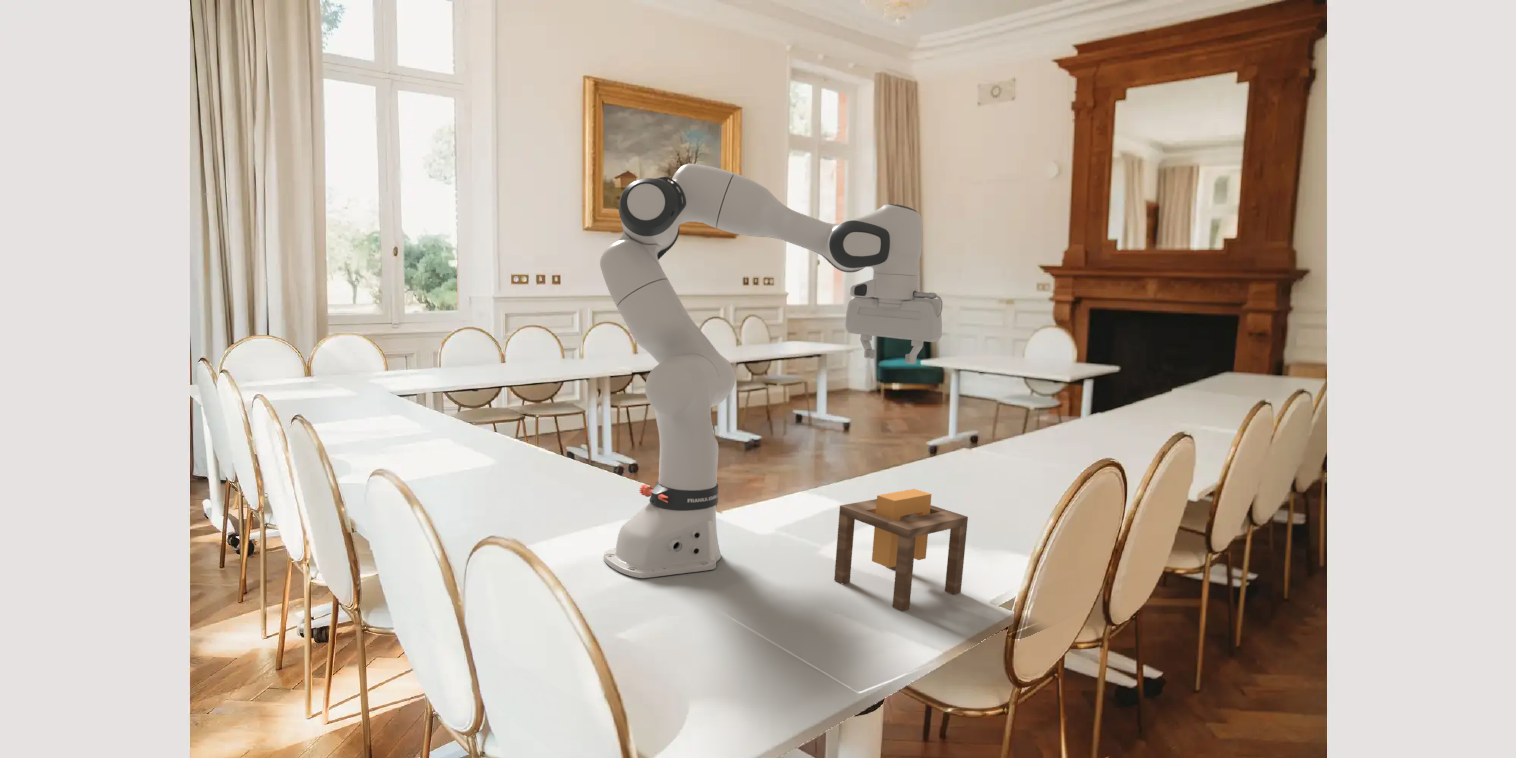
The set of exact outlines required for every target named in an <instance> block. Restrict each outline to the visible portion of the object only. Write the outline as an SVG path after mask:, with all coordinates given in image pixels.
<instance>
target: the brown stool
mask: <svg viewBox="0 0 1516 758" xmlns="http://www.w3.org/2000/svg"><path fill="white" fill-rule="evenodd" d="M876 504H877V498H875V499H869V500H864V501H858V502H853V503H847V504H842V505H839V511H838V512H839V515H838V527H837V537H836V538H837V541H836V553H835V564H834V565H835V566H834V577H833V578H834V580H836V581H837V582H836V581H835V582H836V583H839V584H841V583H844V584H847V583H848V584H849V583H850V582H851V571H852V558H853V546H854V531H855V521H858V522H861V523H864V524H866V525H869V526H872V527H874V528H875V527H877V528H880V529H883V530H885V531H888V532H891V533H893V534H896V535H899V537H898V548H897V560H896V566H895V567H891V568H888V567H886V568H888V569H889V570H893V571H895V573H894V575H895V576H894V585H893V597H892V598H893V599H892V608H893V609H895V610H898V611H900V612H903V611H907V610H909V609H910V606H911V594H912V584H913V573H914V560H915V559H914V551H915V540H916V537H918V536H922V535H926V534H928V535H930V534H935V533H938V532H943V531H947V530H950V533H949V542H948V551H947V564H946V573H945V585H944V586H945V587H944V592H946V593H949V594H950V595H953V596H954V595H957V594H961V593H962V583H963V575H964V574H963V573H964V561H965V551H966V543H967V542H966V541H967V531H968V523H969V522H968V521H969V517H968V515H963V514H961V513H957V512H954V511H950V510H947V509H945V508H942V507H939V506H935V505H932V504H931V506H930V514H927V515H922V516H918V515H915V514H909V515H904V516H901V519H900V520H898V521H894V520H892V519H889V518H886V517H883V516H880V515H877V514H876Z"/></svg>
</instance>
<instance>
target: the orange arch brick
mask: <svg viewBox="0 0 1516 758" xmlns="http://www.w3.org/2000/svg"><path fill="white" fill-rule="evenodd" d="M876 499H877V504H876V514H877V515H880V516H883V517H886V518H889V519H892V520H894V521H898V520H900V519H901V516H904V515H909V514H915V515H918V516H922V515H927V514H930V506H931V505H932V504H931V503H932V493H929V492H926V491H924V490H923V491H922V490H919V489H915V488H911V489H907V490H900V491H894V492H890V493H889V492H888V493H883V494H877V496H876ZM873 531H874V532H873V543H872V556H871V562H874V563H876V564H878V565H880V566H883V567H886V568H887V567H888V569H890V568H891V567H895V566H896V560H897V548H898V537H899V535H896V534H893V533H891V532H888V531H885V530H883V529H880V528H877V527H874V530H873ZM928 537H929V534H926V535H922V536H918V537H916V540H915V551H914V560H916V561H921V560H926V558H927V550H928V539H929V538H928Z"/></svg>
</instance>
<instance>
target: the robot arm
mask: <svg viewBox="0 0 1516 758" xmlns="http://www.w3.org/2000/svg"><path fill="white" fill-rule="evenodd" d="M618 213H619V214H618V215H619V218H620V221H621V226H622V235H621V237H620V238H619V239H618V240H617V241H615V242H613V243H611V244H610V245H609V246H607V248H605V250H604V251H603V252H602V254H601V256H600V260H599V267H600V270H601V273H602V276H603V279H604V281H605V285H606V287H607V290H608V292H609V294H610V297H611V298H612V301H613V302H614V304H615V306H616V308H617V310H618V311H619V313H620V316H621V317H622V319H623V320H624V322H625V325H626V326H627V327H628V330H629V331H630V333H631V335H632V337H633V338H634V341H635V342H636V344H637V345H638V346H639V347H641V348H642V349H643V350H645V351H646V352H647V353H649V355H651V357H652V358H653V359H654V360H655V361H656V362H657V365H655V366H654V368H652V369H651V370H650V372H649V373H648V375H647V377H646V379H645V380H646V381H645V386H644V390H645V391H644V392H645V396H646V399H647V401H648V403H649V405H650V406H651V407H652V408H653V410H654V415H655V421H656V425H657V431H658V437H659V460H658V463H659V466H658V481H657V482H656V483H655V485H654V488H653V487H652V486H649V485H648V484H642V485H640V487H639V494H640V495H641V496H644V497H646V498H648V497H649V500H648V501H649V502H648V503H647V504H646V505H645V506H644V507H642V508H641V509H640V510H639V511H638V512H636V513H635V515H633V516H632V517H631V518H630V519H629V520H627V521H625V522H624V524H622V526H621V527H620V528H619V530H618V531H619V532H618V534H617V540H616V544H615V548H611V549H608V550H605V551H604V553H603V561H604V562H605V563H606V564H607V565H608V566H609V567H610V568H612V569H613V570H616V571H617V572H619V573H621V574H624V575H627V576H629V577H632V578H639V579H647V578H656V577H664V576H665V577H666V576H672V575H679V574H687V573H688V574H689V573H696V572H703V571H711V570H715V569H716V568H717V562H718V561H719V560H720V559H721V557H722V554H721V550H720V549H721V548H720V544H719V539H718V532H717V512H716V511H717V506H718V503H719V484H718V483H717V478H718V466H719V465H718V463H719V461H718V460H719V443H718V440H717V439H716V437H715V433H714V429H713V422H712V421H713V420H712V407H715V406H717V405H719V404H721V403H722V402H723V401H725V399H727V397H728V396H729V395H730V394H731V392H732V391H733V389H734V387H735V382H736V374H735V373H736V372H735V370H734V367H733V365H732V363H731V362H730V361H729V360H728V359H727V358H725V357H724V356H723V355H722V354H720V352H719V351H718V350H717V349H716V348H715V346H714V345H713V343H711V341H710V340H709V338H708V337H707V335H705V334H704V333H703V331H702V330H701V329H700V328H699V326H698V325H697V324H696V323H695V321H694V320H693V319H692V318H691V316H690V315H689V313H688V312H687V310H686V308H685V306H683V303H682V301H681V299H680V298H679V296H678V294H677V292H676V291H675V289H674V287H673V285H672V283H671V282H670V281H669V278H668V277H667V275H666V274H665V271H664V270H663V268H662V265H661V264H660V261H659V260H660V259H661V258H662V257H663V256H664V255H665V254H666V253H667V252H669V250H671V248H672V247H674V246H675V244H676V241H678V239H679V238H678V237H679V235H680V226H681V225H683V224H686V223H700V224H701V223H702V224H705V225H707V226H710V227H712V228H714V229H718V230H721V231H724V232H727V233H731V234H735V235H741V236H746V237H755V238H770V239H776V240H780V241H785V242H788V243H790V244H793V245H795V246H798V247H801V248H803V249H807V250H809V251H812V252H815V253H817V254H819V255H820V256H822V257H823V258H824V259H825V260H826V261H827V262H828V263H829V264H830V265H832V267H834V268H835V269H837V270H838V271H840V272H844V273H857V272H859V271H862V270H864V269H865V268H872V270H873V277H872V278H871V279H869V280H866V281H864V282H860V283H857V284H853V285H851V287H850V288H849V289H850V290H849V291H850V292H849V294H850V296H851V298H850V299H849V301H848V303H847V307H846V312H845V322H844V323H845V325H844V327H845V329H846V331H847V333H848V334H853V335H860V338H859V339H860V343H861V345H862V347H863V349H864V354H863V355H864V358H865V359H870V360H871V359H875V358H876V352H877V351H876V349H873V347H872V344H871V341H872V340H873V337H882V338H891V339H899V340H911V341H910V342H911V345H910V346H911V347H912V348H911V350H910V352H909V353H906V354H905V359H904V363H905V364H909V365H910V364H911V365H916V363H917V357H918V355H919V353H920V351H921V350H923V348H924V342H925V343H926V342H929V343H936V342H938V341H939V340H940V339H942V338H941V337H942V335H943V334H942V333H943V321H942V320H943V317H942V312H943V305H944V304H943V302H944V301H943V300H942V298H941V296H940V295H937V293H936V292H925V291H919V286H920V269H919V268H920V267H919V263H920V258H921V256H922V250H923V221H922V216H921V215H920V213H919V212H918V211H917V210H916V209H914V208H912V207H909V206H906V205H902V204H894V203H887V204H883V205H882V206H881V207H879V208H878V209H876V210H875V211H872V212H870V213H868V214H865V215H863V216H859V217H856V218H852V219H849V220H845V221H842V222H841V223H829V222H825V221H822V220H820V219H817V218H814V217H812V216H810V215H806V214H804V213H800V212H798V211H795V210H794V209H791V208H789V207H788V206H786V205H785V204H784V203H782V202H781V201H780V200H779V199H778V198H777V197H776V196H775V195H774V194H773V193H772V192H771V191H770V190H769V189H768V188H767V187H764V186H763V185H761V184H760V183H758V182H756V181H755V180H752V179H750V178H748V177H746V176H743V175H741V174H738V173H736V172H732V171H729V170H726V169H723V168H719V167H714V166H712V165H711V166H710V165H704V164H698V163H685V164H684V165H682V166H680V168H678V169H677V170H676V172H675V173H674V174H673V176H672V177H669V176H660V177H655V178H653V177H650V178H649V177H648V178H647V177H645V178H640V179H637V180H634V181H633V182H631V183H629V184H627V186H626V187H625V188H624V189H623V192H622V193H621V195H620V198H619V202H618Z"/></svg>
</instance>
